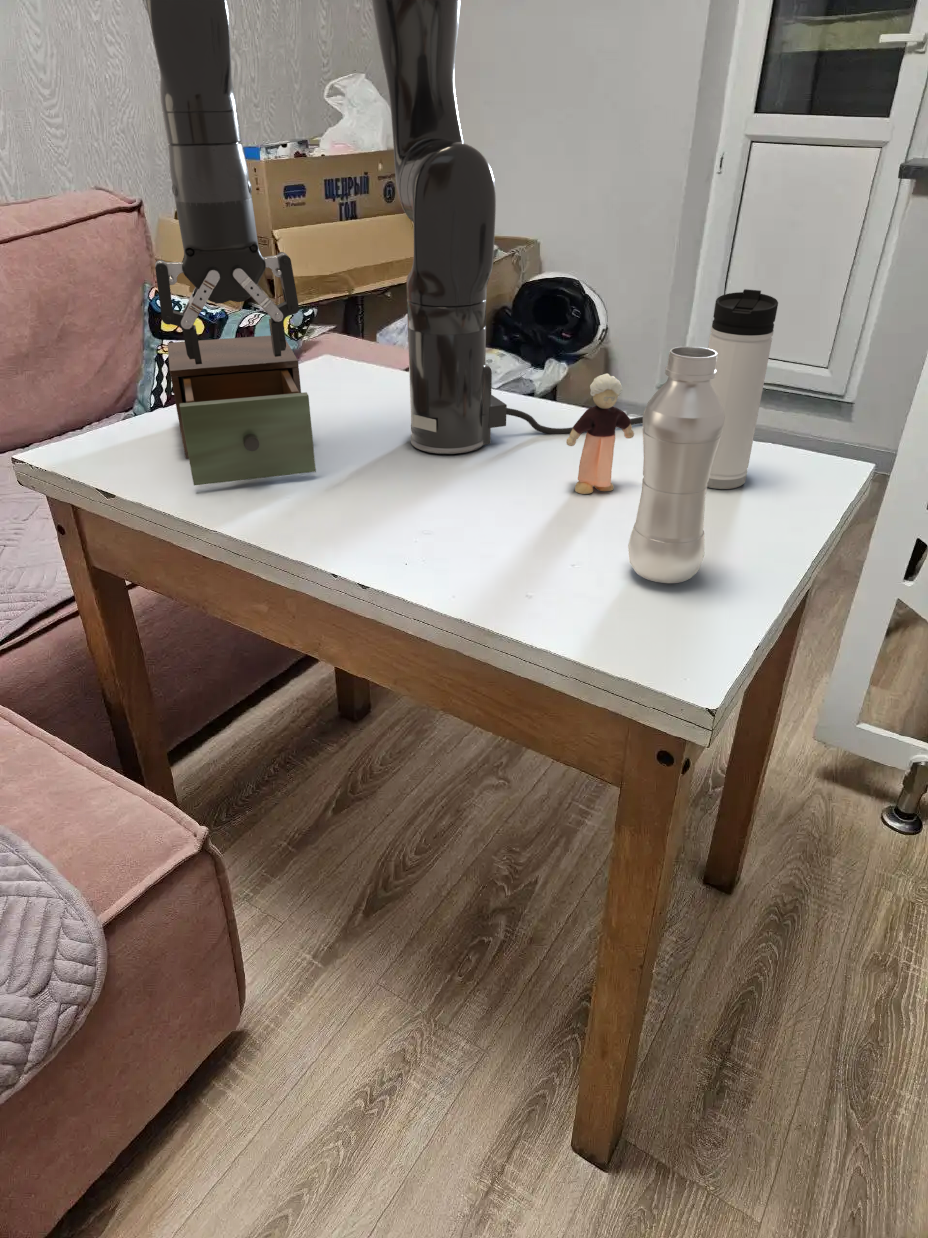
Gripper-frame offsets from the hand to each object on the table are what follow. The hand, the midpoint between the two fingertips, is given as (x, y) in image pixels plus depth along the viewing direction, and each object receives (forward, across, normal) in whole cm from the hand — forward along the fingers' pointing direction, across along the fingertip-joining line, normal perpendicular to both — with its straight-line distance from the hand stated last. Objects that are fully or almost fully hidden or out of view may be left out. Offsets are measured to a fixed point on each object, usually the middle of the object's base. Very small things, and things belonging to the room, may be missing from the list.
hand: (238, 358), depth 93 cm
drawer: (+12, 0, +1) cm, 12 cm away
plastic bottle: (+13, -33, +38) cm, 52 cm away
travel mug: (+14, -50, +20) cm, 56 cm away
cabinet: (+13, 0, -12) cm, 17 cm away
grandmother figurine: (+13, -36, +18) cm, 42 cm away
